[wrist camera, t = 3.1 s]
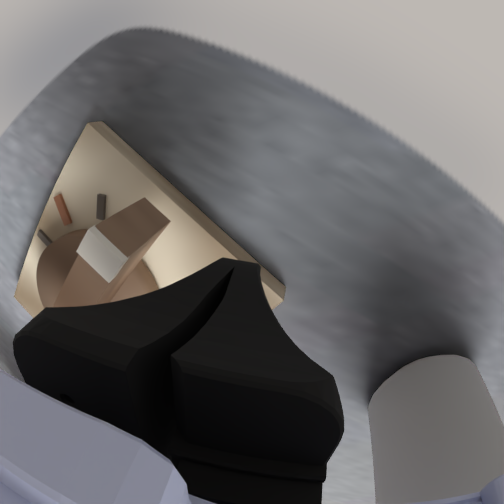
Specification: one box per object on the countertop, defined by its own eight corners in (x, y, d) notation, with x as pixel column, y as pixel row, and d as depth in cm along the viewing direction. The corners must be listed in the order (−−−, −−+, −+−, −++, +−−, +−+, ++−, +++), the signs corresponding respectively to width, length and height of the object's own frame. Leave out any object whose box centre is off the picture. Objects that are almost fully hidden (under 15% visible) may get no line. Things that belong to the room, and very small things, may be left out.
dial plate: (145, 398, 21) (138, 412, 19) (24, 288, 19) (12, 298, 18) (285, 287, 15) (283, 302, 14) (102, 121, 13) (85, 123, 12)
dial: (125, 371, 18) (89, 428, 13) (36, 288, 17) (-14, 331, 12) (237, 262, 14) (204, 332, 9) (108, 144, 12) (28, 165, 8)
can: (378, 435, 19) (385, 586, 8) (353, 371, 17) (360, 579, 6) (474, 400, 17) (515, 543, 6) (472, 325, 14) (555, 508, 4)
